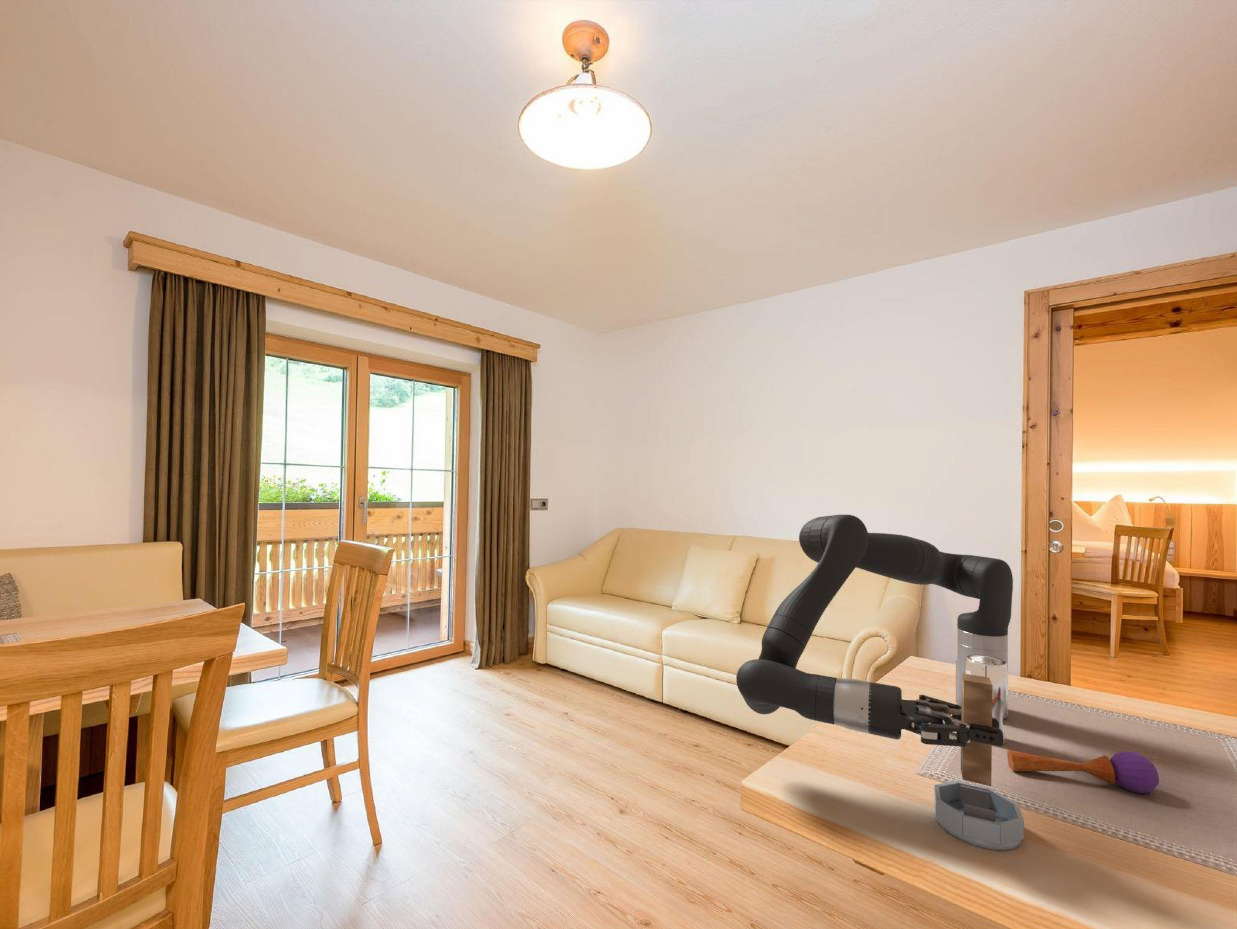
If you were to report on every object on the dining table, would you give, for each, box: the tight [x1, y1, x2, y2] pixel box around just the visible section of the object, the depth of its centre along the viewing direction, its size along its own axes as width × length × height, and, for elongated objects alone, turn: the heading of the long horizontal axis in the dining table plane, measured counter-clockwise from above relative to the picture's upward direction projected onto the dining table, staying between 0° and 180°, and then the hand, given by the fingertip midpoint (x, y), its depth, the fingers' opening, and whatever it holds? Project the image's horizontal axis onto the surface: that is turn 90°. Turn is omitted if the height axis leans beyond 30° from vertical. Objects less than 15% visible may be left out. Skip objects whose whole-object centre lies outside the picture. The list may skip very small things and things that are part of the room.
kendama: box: [1006, 749, 1160, 794], centre depth 93 cm, size 6×6×20 cm
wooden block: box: [960, 673, 993, 787], centre depth 80 cm, size 3×3×14 cm
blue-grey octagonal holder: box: [933, 780, 1025, 852], centre depth 80 cm, size 10×10×4 cm
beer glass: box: [965, 655, 1009, 745], centre depth 109 cm, size 7×7×15 cm
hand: (999, 732), depth 79 cm, fingers closed on wooden block, 3 cm apart
